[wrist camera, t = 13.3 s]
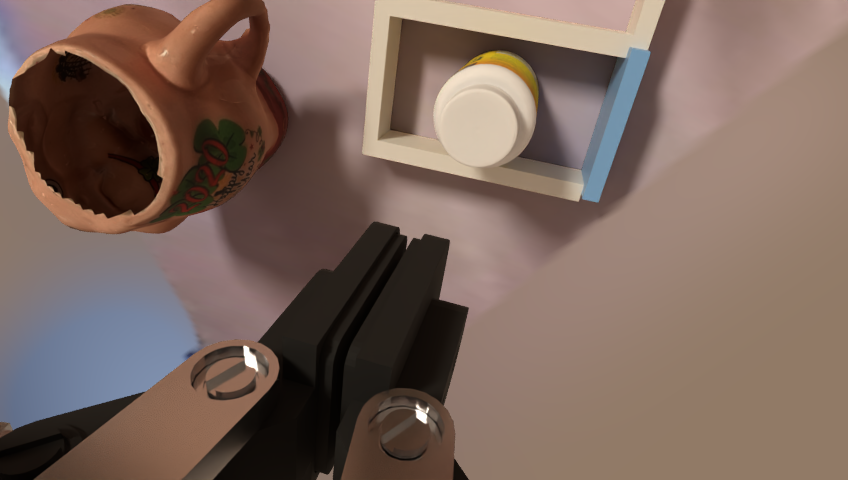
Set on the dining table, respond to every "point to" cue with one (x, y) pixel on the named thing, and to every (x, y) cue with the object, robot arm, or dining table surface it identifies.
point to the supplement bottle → (488, 110)
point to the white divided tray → (429, 6)
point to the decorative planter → (147, 116)
